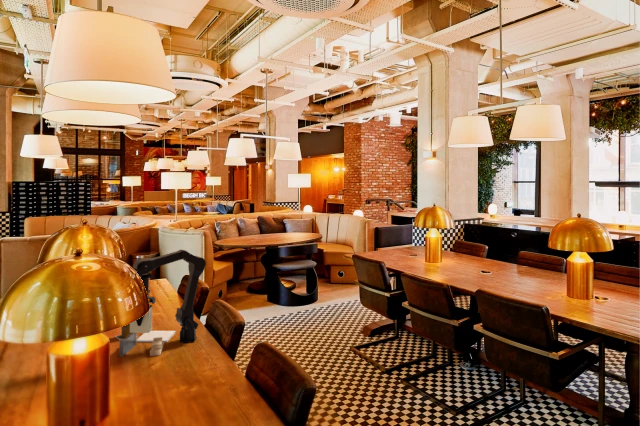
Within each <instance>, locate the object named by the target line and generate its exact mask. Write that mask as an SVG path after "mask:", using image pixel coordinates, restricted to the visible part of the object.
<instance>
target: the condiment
mask: <svg viewBox="0 0 640 426" xmlns="http://www.w3.org/2000/svg"><path fill="white" fill-rule="evenodd" d="M130 334H131V333H130V324H128V325H126V326H123V327H122V326H121V334H120V335H115V336H114V338H115V339H117V340H118V341H119V342H120V339H125V338H126V337H127V336H128V335H130ZM136 338H139V336H138V334H136Z"/></svg>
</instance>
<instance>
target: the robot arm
mask: <svg viewBox="0 0 640 426" xmlns="http://www.w3.org/2000/svg"><path fill="white" fill-rule="evenodd" d="M182 260H183V261H184V262H186V263H188V266H187V268H188V269H187V270H188V274H189V276H188V279H187V284H186V289H185V292H184V297H183V301H182V304H181V306H180V307H177V308H176V313H175V314H174V317H175V321H176V322H177V323H179V325H180V327H181V328H180V331H179V343H195V342H196V340H197V339H196V338H198V337H197V330H198V327H199V323H198V322H197V321H195V319H194V316H195V312H194V303H195V299H196V293H197V289H198V285H199V280H200V277H201V275H202V274H203V272H204V270H205V268H206V265H207V261H206V260H205V258H204V257H200V256H197V255H194V254H192V253H190V252H188V250H185V249H179V250H177V251H172V252H169V253H166V254H163V255H160V256H156V257H148V258H145V257H144V258H139V259H136V260H135V261H134V263H133V265H132V268H134V269H135V270H136V271H137V273H138V274H139V276H140V277H141V279H142V280H143V283H144V286H145V288H146V291H147V295H148V299H149V303H148V304H149V305H150V307H152V308H153V305H155V303H156V297H154V296H150V293H151V289H150V287H149V286H150V279H153V278H155V276H154V275H152V273H151V272H153V271H154V270H156V268H159V267H162V266H165V265H169V264H171V263H174V262H177V261H182ZM150 303H151V304H150ZM143 318H144V316H143V317H141V318H140V319H138V320H136V322H137V325H138V326H141V324H142V321H143Z"/></svg>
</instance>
